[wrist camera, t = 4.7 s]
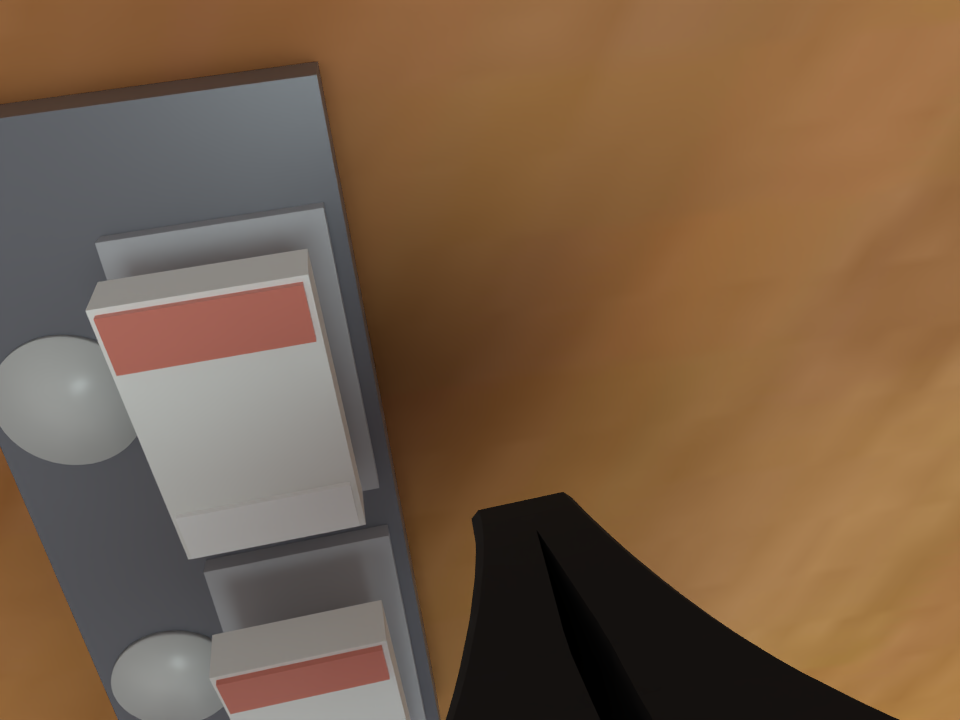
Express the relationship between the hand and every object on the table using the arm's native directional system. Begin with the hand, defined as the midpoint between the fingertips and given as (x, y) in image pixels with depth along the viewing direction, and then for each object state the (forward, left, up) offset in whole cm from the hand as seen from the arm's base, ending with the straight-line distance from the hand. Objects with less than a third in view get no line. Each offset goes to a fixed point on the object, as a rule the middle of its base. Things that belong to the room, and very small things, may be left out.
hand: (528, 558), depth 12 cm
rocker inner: (-7, 0, -3) cm, 8 cm away
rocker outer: (-1, +4, -4) cm, 6 cm away
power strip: (-5, +3, -8) cm, 10 cm away
